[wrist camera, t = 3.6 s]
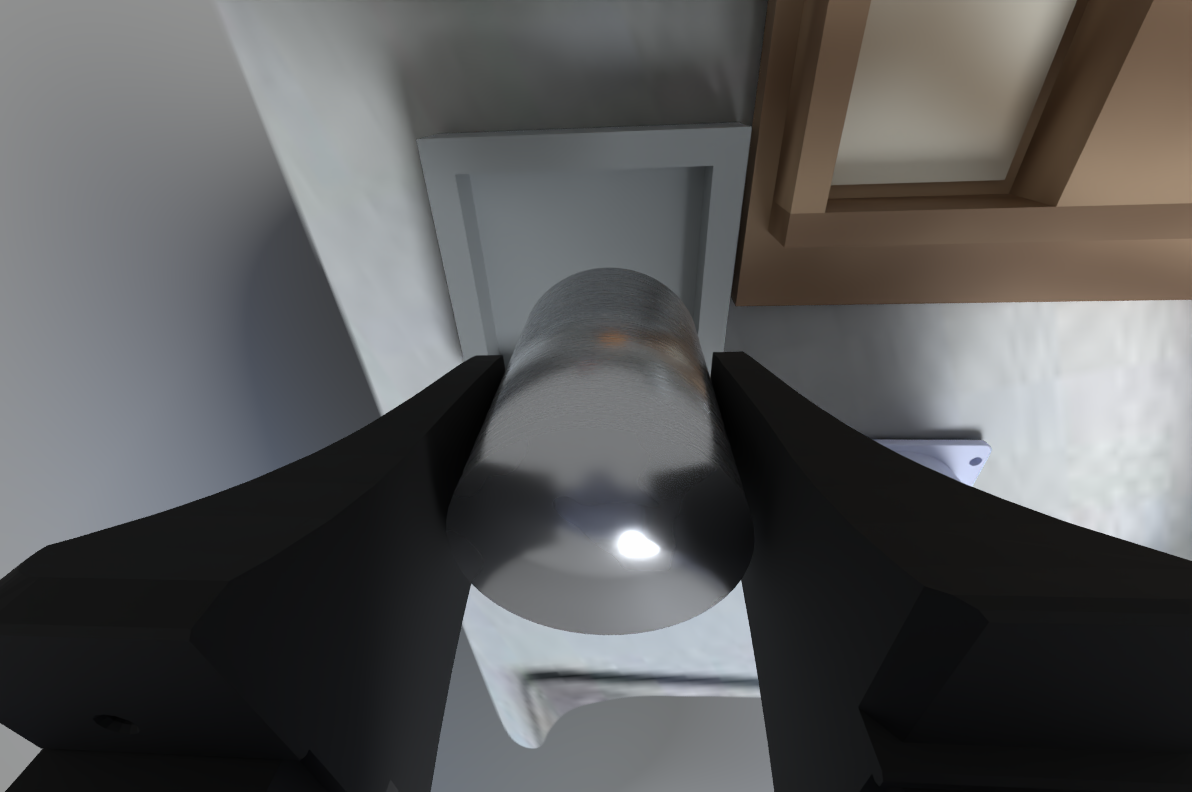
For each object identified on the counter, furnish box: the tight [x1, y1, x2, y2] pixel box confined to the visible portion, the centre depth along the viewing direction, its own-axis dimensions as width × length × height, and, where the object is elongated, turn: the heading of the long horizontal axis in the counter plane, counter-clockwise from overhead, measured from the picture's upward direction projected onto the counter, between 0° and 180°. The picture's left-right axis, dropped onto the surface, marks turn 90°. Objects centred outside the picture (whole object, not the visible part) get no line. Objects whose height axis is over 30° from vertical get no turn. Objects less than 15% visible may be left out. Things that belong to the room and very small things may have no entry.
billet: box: [446, 268, 755, 635], centre depth 9 cm, size 4×4×6 cm
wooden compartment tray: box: [731, 0, 1192, 306], centre depth 13 cm, size 14×21×3 cm, turn 92°
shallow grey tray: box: [416, 122, 752, 375], centre depth 18 cm, size 10×10×2 cm
